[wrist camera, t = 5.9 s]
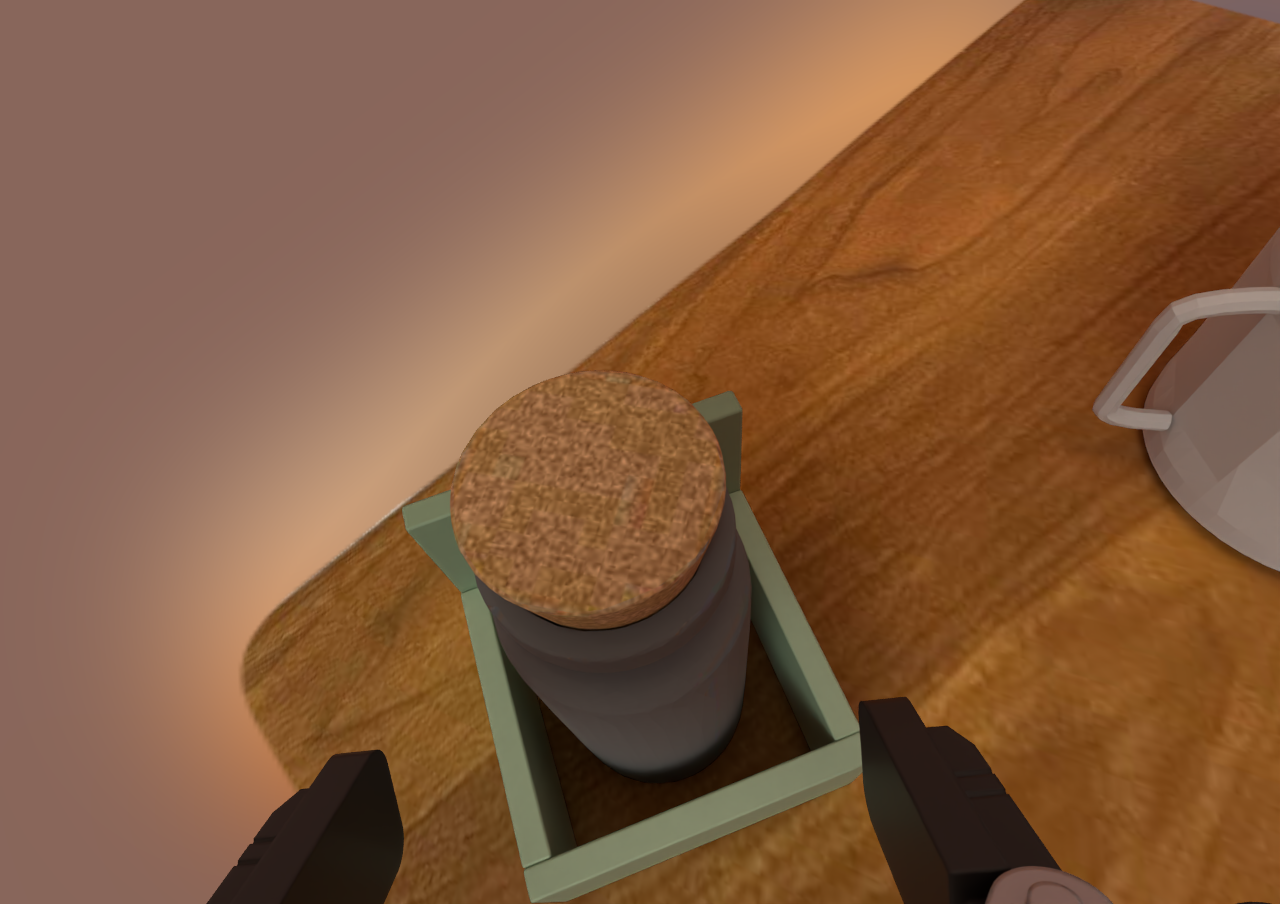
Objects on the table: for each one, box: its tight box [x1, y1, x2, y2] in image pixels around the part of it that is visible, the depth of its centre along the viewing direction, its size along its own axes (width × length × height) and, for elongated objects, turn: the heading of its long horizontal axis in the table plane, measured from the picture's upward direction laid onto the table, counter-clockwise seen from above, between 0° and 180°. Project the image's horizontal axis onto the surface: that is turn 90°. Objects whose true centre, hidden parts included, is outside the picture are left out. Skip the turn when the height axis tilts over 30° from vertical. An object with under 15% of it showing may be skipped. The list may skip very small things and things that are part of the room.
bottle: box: [450, 370, 752, 783], centre depth 18 cm, size 6×6×15 cm
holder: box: [402, 391, 863, 903], centre depth 21 cm, size 10×10×9 cm
